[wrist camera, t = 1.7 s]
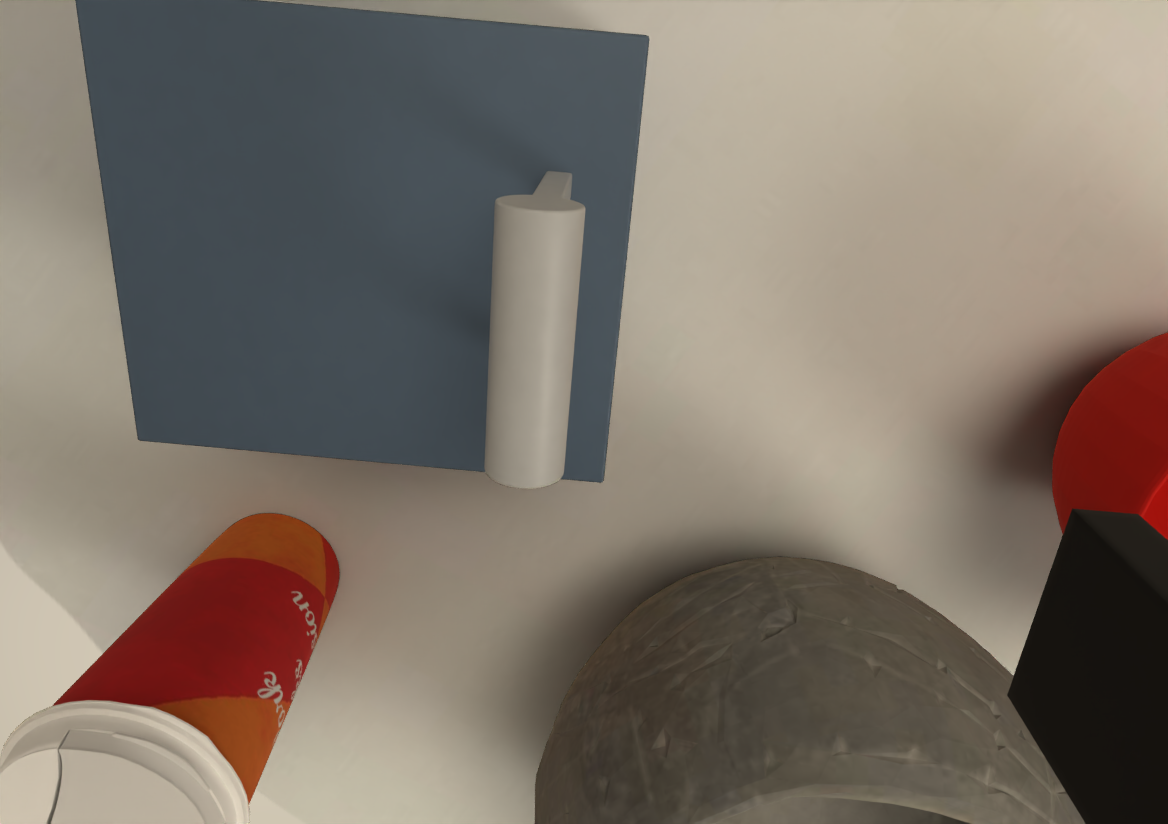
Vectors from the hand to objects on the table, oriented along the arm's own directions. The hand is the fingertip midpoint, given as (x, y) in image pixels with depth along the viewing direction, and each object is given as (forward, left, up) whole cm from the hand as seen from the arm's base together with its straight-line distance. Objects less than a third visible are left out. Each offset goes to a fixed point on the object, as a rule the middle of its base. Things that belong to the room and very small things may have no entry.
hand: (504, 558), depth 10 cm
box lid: (-1, -6, -15) cm, 16 cm away
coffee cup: (+14, -17, -25) cm, 34 cm away
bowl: (+24, +5, -25) cm, 35 cm away
